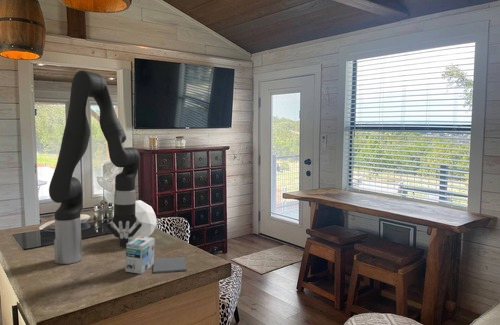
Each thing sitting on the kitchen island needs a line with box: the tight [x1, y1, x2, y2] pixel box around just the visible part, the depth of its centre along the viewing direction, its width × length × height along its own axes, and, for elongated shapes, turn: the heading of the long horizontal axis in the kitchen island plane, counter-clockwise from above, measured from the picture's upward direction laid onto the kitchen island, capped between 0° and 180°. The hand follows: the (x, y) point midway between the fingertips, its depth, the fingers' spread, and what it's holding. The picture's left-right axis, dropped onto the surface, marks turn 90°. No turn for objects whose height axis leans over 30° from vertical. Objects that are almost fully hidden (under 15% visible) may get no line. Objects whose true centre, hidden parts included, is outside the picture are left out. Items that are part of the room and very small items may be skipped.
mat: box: [152, 256, 187, 274], centre depth 151 cm, size 12×14×1 cm
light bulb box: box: [125, 236, 156, 275], centre depth 147 cm, size 11×7×11 cm, turn 169°
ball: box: [114, 199, 157, 242], centre depth 182 cm, size 19×20×20 cm
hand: (124, 247), depth 145 cm, fingers closed
